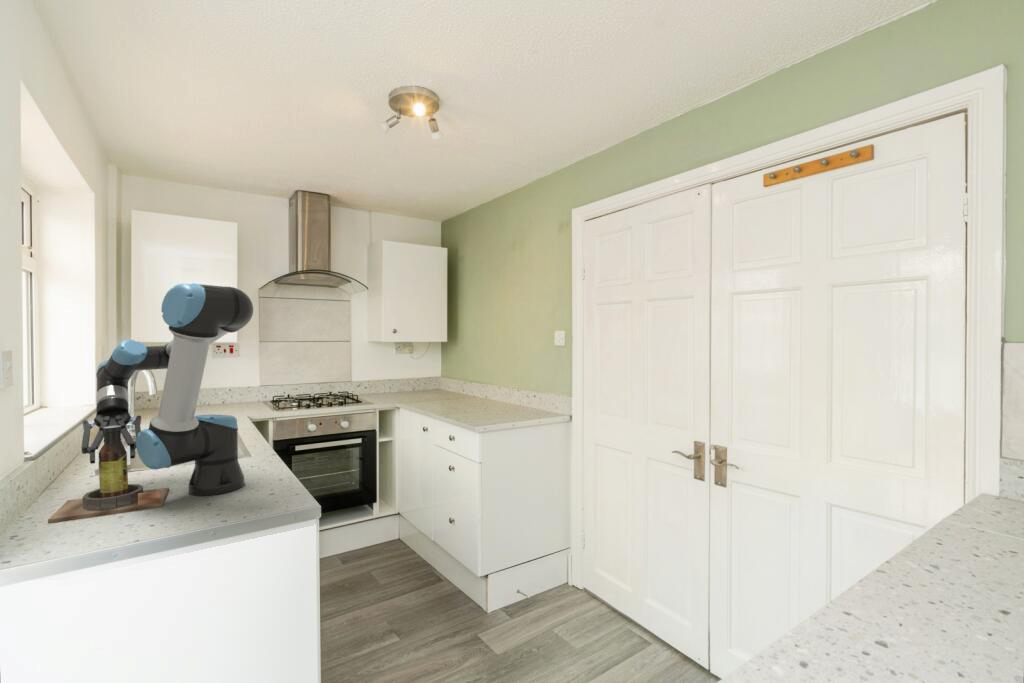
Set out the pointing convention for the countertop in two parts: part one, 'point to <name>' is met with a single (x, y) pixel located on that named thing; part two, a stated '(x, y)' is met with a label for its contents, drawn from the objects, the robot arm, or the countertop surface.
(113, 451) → the sauce bottle
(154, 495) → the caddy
